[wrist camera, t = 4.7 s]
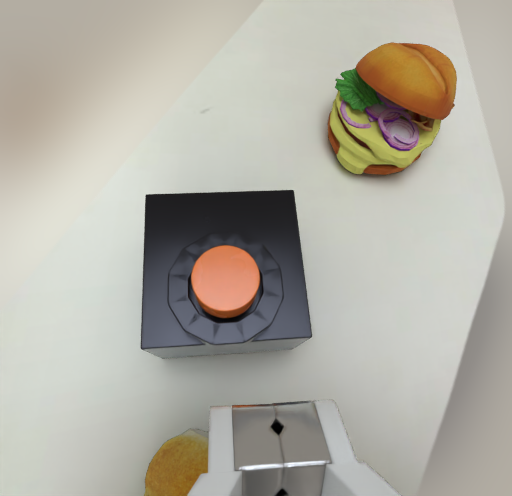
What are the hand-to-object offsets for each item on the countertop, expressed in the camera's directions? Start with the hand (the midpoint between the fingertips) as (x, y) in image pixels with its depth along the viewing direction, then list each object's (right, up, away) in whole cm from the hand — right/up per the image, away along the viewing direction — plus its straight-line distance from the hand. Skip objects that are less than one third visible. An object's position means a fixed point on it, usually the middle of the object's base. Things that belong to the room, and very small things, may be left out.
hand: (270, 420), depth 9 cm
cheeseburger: (+11, +15, +28) cm, 34 cm away
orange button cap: (-2, +2, +12) cm, 13 cm away
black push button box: (-3, +1, +21) cm, 21 cm away
